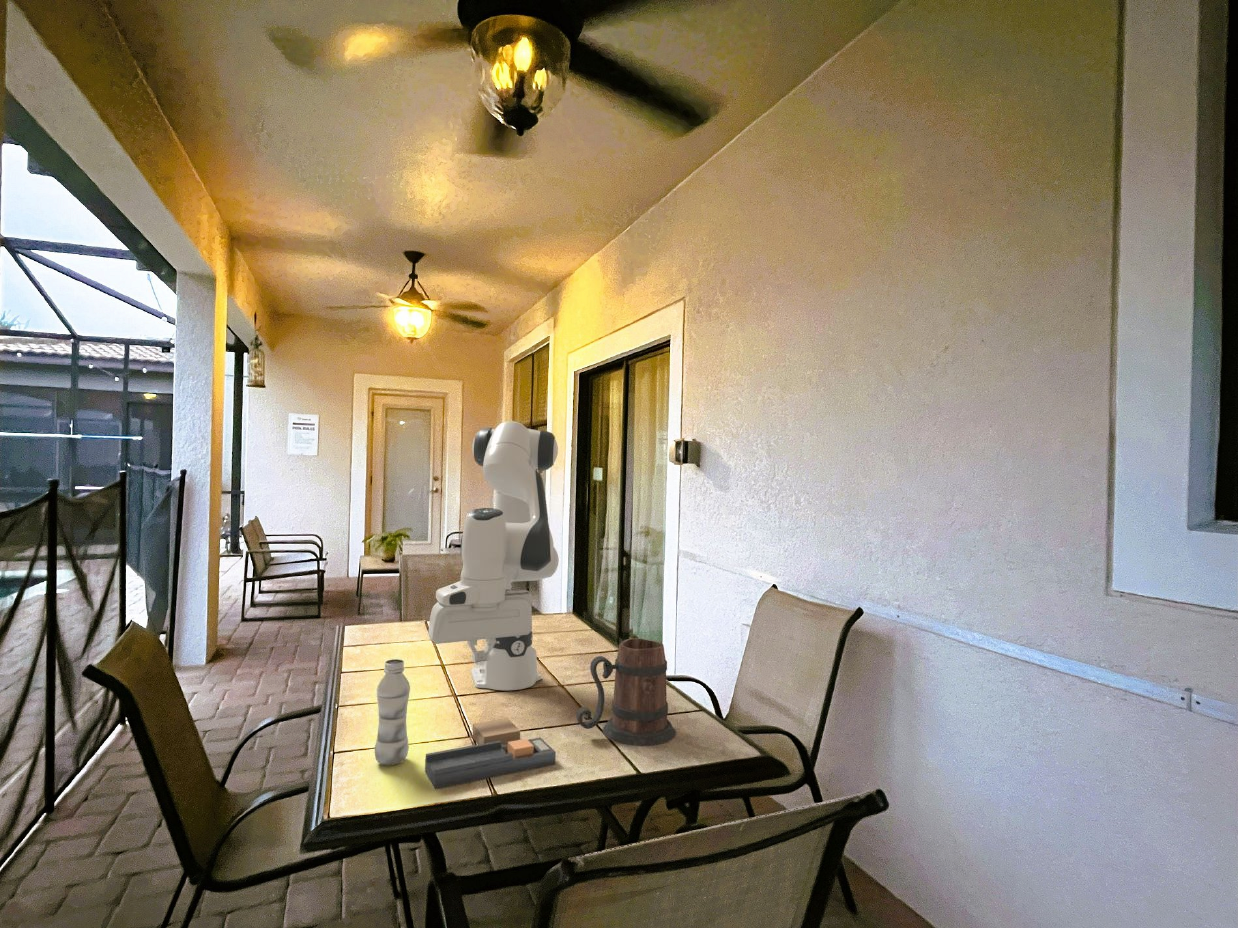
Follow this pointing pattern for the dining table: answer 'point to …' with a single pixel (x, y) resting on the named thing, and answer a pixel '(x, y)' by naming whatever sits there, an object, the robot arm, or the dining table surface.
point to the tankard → (634, 695)
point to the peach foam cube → (520, 748)
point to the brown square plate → (495, 731)
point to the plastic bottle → (392, 714)
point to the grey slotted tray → (483, 762)
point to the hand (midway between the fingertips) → (480, 660)
